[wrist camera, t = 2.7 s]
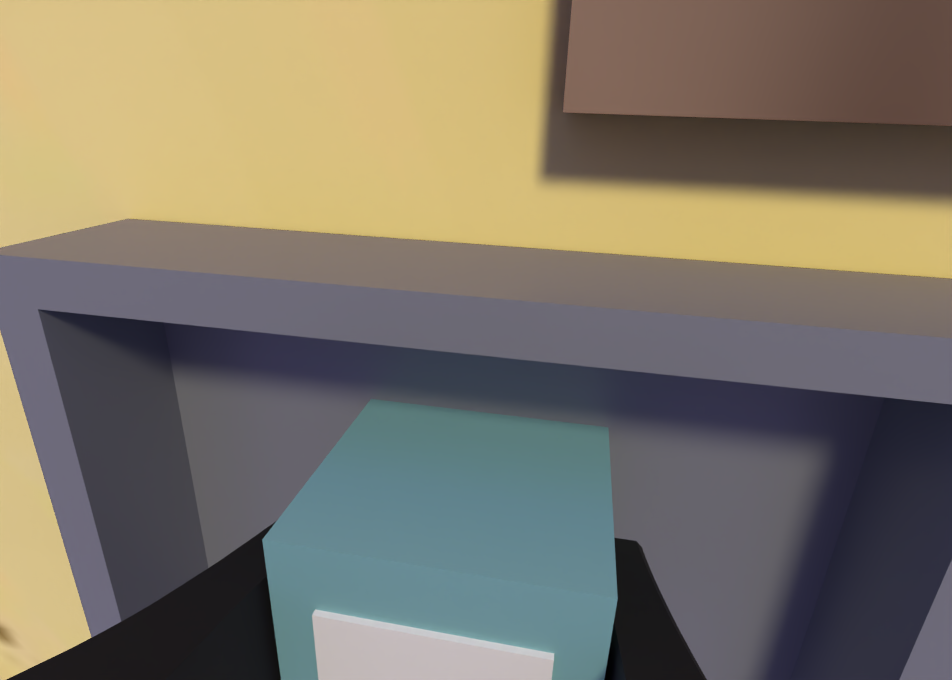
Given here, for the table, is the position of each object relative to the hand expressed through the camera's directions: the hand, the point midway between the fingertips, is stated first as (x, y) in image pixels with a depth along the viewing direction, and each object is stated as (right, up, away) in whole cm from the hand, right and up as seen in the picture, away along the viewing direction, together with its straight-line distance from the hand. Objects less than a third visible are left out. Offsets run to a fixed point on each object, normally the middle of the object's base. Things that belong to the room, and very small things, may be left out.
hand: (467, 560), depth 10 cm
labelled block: (0, +1, +1) cm, 1 cm away
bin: (0, -3, +3) cm, 5 cm away
